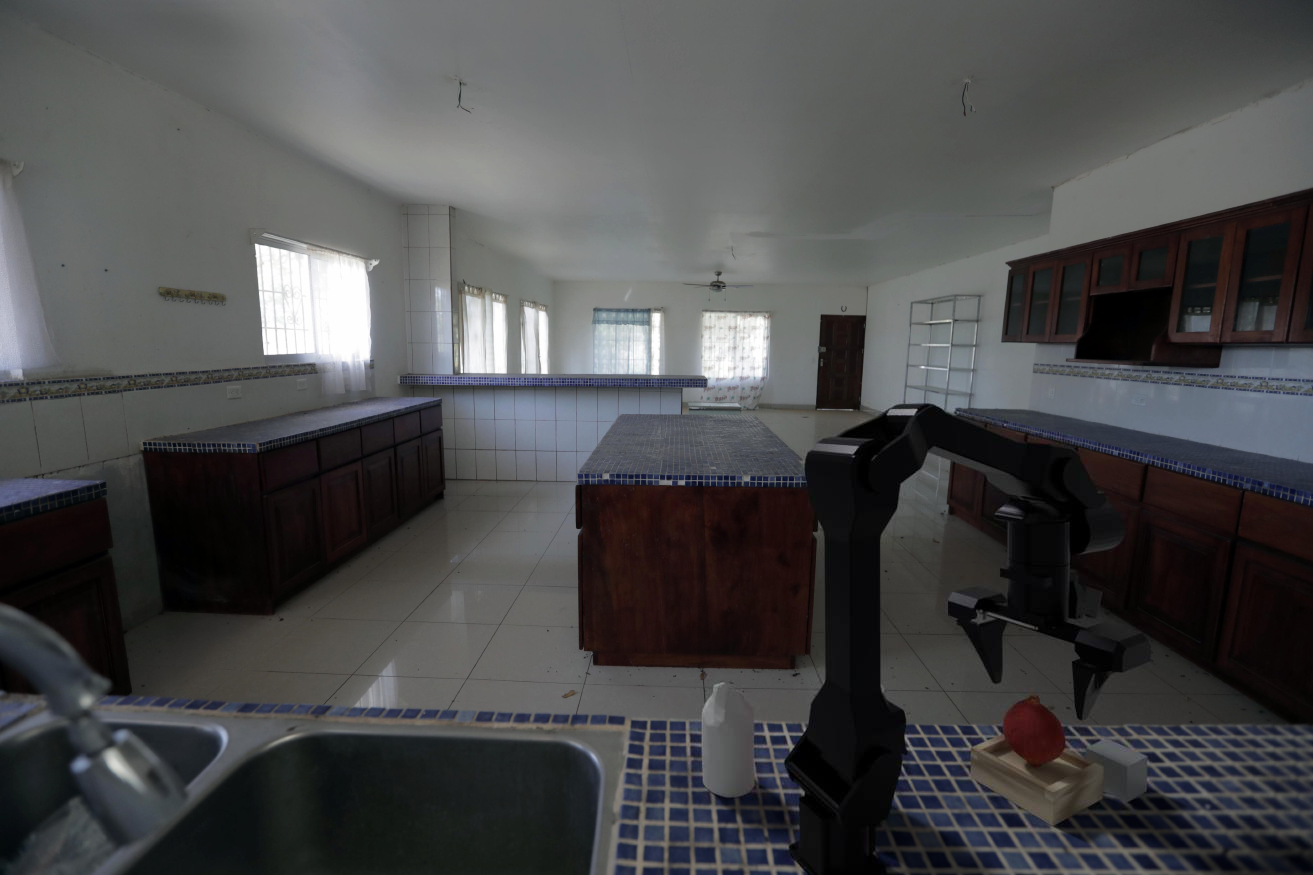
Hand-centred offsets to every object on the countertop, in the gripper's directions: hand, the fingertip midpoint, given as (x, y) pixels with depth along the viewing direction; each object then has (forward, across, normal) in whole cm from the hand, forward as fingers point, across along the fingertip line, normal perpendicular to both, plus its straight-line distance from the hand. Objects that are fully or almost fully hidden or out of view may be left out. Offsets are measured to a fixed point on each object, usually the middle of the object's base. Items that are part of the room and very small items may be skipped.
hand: (1036, 699), depth 65 cm
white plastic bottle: (+10, +17, +30) cm, 35 cm away
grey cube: (+10, -4, -8) cm, 13 cm away
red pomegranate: (+8, 0, 0) cm, 8 cm away
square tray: (+10, 0, 0) cm, 10 cm away
